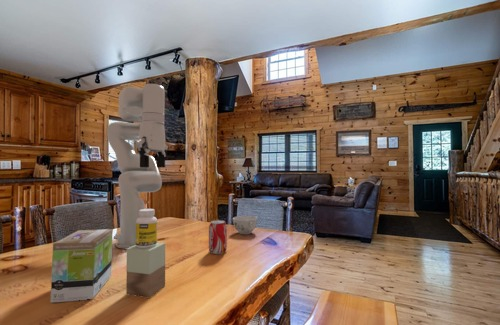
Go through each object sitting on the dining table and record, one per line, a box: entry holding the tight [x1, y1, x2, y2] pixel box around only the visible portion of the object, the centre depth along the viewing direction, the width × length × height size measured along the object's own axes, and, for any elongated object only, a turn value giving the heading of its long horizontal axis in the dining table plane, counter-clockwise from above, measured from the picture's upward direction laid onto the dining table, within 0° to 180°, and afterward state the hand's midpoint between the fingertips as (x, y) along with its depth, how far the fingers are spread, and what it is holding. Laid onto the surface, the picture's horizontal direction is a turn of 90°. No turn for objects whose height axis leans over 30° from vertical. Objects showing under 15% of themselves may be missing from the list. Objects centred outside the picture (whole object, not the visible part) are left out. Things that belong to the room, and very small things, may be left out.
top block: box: [126, 242, 166, 274], centre depth 72 cm, size 7×7×6 cm
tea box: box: [49, 228, 113, 303], centre depth 73 cm, size 15×10×15 cm, turn 12°
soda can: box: [208, 219, 228, 255], centre depth 104 cm, size 7×7×12 cm
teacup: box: [232, 215, 258, 235], centre depth 134 cm, size 15×12×8 cm
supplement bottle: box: [136, 208, 158, 248], centre depth 72 cm, size 5×5×10 cm
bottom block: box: [125, 264, 166, 299], centre depth 72 cm, size 7×7×6 cm
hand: (152, 167), depth 95 cm, fingers open, 9 cm apart
